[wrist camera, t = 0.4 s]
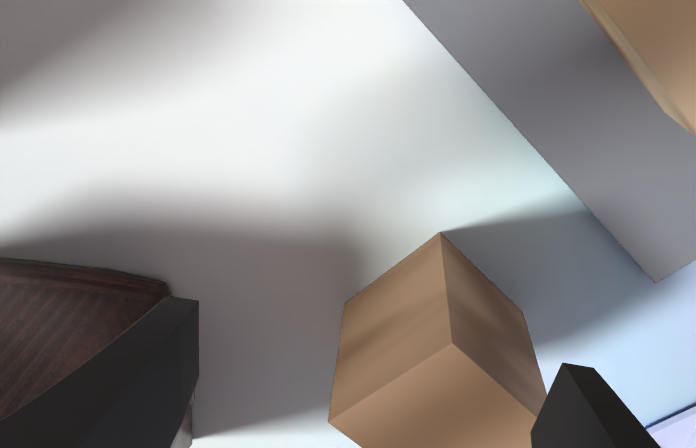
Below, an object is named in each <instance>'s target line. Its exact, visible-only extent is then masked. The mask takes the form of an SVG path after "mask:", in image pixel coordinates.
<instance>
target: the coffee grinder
mask: <svg viewBox="0 0 696 448" xmlns="http://www.w3.org/2000/svg"><path fill="white" fill-rule="evenodd" d="M167 296H170V293H169V290H168V287H167V285H166V283H165V282H160V281H156V280H152V279H148V278H143V277H139V276H135V275H130V274H126V273H122V272H118V271H113V270H109V269H101V268H92V267H83V266H74V265H65V264H56V263H47V262H37V261H28V260H18V259H9V258H0V420H2V419H3V418H5V417H7V416H8V415H10V414H11V413H13V412H14V411H16V410H17V409H19V408H20V407H22V406H24V405H25V404H27V403H28V402H30V401H31V400H33V399H34V398H36V397H37V396H38V395H40V394H41V393H43V392H44V391H45V390H47V389H48V388H50V387H51V386H53V385H54V384H55V383H57V382H58V381H60V380H61V379H62V378H64V377H65V376H67V375H68V374H70V373H71V372H72V371H74V370H75V369H76V368H78V367H79V366H80V365H82V364H83V363H84V362H86V361H87V360H88V359H90V358H91V357H92V356H93V355H95V354H96V353H97V352H99V351H100V350H101V349H102V348H104V347H105V346H106V345H108V344H109V343H110V342H112V341H113V340H114V339H115V338H117V337H118V336H119V335H120V334H121V333H123V332H124V331H125V330H126V329H128V328H129V327H130V326H131V325H133V324H134V323H135V322H136V321H137V320H139V319H140V318H141V317H142V316H143V315H145V314H146V313H147V312H148V311H149V310H151V309H152V308H153V307H154V306H155V305H157V304H158V303H159V302H160V301H161V300H163V299H164V298H166V297H167ZM194 398H195V388H194V391H193V393H192V396H191V399H190V402H189V405H188V408H187V410H186V413H185V416H184V419H183V421H182V424H181V426H180V428H179V430H178V432H177V435H176V437H175V439H174V441H173V443H172V445H171V447H170V448H189V447H190V446H191V444H192V418H191V404H193V401H194Z"/></svg>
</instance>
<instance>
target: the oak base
mask: <svg viewBox="0 0 696 448" xmlns="http://www.w3.org/2000/svg"><path fill="white" fill-rule="evenodd" d="M579 1H580V2H581V4H582V5H583V6H584V8H585V9H586V10H587V12H588V13H589V14H590V16H591V17H592V18H593V19H594V21H595V22H596V23H597V25H598V26H599V27H600V29H601V30H602V31H603V33H604V34H605V35H606V36H607V38H608V39H609V40H610V42H611V43H612V44H613V46H614V47H615V48H616V50H617V51H618V52H619V53H620V55H621V56H622V57H623V59H624V60H625V61H626V63H627V64H628V65H629V66H630V68H631V69H632V70H633V72H634V73H635V74H636V76H637V77H638V78H639V80H640V81H641V82H642V83H643V85H644V86H645V87H646V89H647V90H648V91H649V93H650V94H651V95H652V97H653V98H654V99H655V100H656V102H657V103H658V104H659V106H660V107H661V108H662V110H663V111H664V112H665V113H666V114H667V115H669V116H670V117H671V118H672V119H674V120H675V121H676V122H677V123H679V124H680V125H681V126H682V127H684V128H685V129H686V130H687V131H689V132H690V133H691V134H692V135H694V136H695V137H696V0H579Z"/></svg>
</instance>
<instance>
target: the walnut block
mask: <svg viewBox="0 0 696 448" xmlns="http://www.w3.org/2000/svg"><path fill="white" fill-rule="evenodd" d="M546 397H547V393H546V390H545V386H544V383H543V379H542V376H541V373H540V369H539V366H538V362H537V359H536V356H535V352H534V349H533V345H532V342H531V339H530V335H529V332H528V328H527V325H526V322H525V318H524V315H523V312H522V311H521V310H520V309H519V308H518V307H517V306H516V305H515V304H514V303H513V302H512V301H511V300H510V299H509V298H508V297H506V296H505V295H504V294H503V293H502V292H501V291H500V290H499V289H498V288H497V287H496V286H495V285H494V284H493V283H492V282H491V281H490V280H489V279H488V278H487V277H486V276H485V275H484V274H483V273H482V272H481V271H479V270H478V269H477V268H476V267H475V266H474V265H473V264H472V263H471V262H470V261H469V260H468V259H467V258H466V257H465V256H464V255H463V254H462V253H461V252H460V251H459V250H458V249H457V248H456V247H455V246H454V245H452V244H451V243H450V242H449V241H448V240H447V239H446V238H445V237H444V236H443V235H442V234H441V233H440V232H439V233H438V234H436V235H435V236H434V237H432V238H431V239H430V240H428V241H427V242H426V243H424V244H423V245H422V246H420V247H419V248H418V249H416V250H415V251H414V252H412V253H411V254H410V255H408V256H407V257H406V258H404V259H403V260H402V261H400V262H399V263H398V264H396V265H395V266H394V267H392V268H391V269H390V270H388V271H387V272H386V273H384V274H383V275H382V276H381V277H379V278H378V279H377V280H375V281H374V282H373V283H371V284H370V285H369V286H367V287H366V288H365V289H363V290H362V291H361V292H359V293H358V294H357V295H355V296H354V297H353V298H351V299H350V300H349V301H347V302H346V303H345V306H344V313H343V320H342V327H341V334H340V341H339V348H338V355H337V362H336V368H335V375H334V382H333V389H332V396H331V403H330V410H329V417H328V423H330V424H331V425H332V426H334V427H335V428H336V429H338V430H339V431H340V432H342V433H343V434H344V435H346V436H347V437H349V438H350V439H351V440H353V441H354V442H355V443H357V444H358V445H359V446H361V447H362V448H532V445H531V435H530V432H531V430H532V428H533V425H534V423H535V421H536V419H537V417H538V415H539V412H540V410H541V408H542V406H543V404H544V401H545V399H546Z"/></svg>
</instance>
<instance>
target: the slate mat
mask: <svg viewBox="0 0 696 448" xmlns="http://www.w3.org/2000/svg"><path fill="white" fill-rule="evenodd" d="M403 1H404V3H405V4H406V5H407V6H408V7H409V8H410V9H411V10H412V11H413V13H414V14H415V15H416V16H417V17H418V18H419V19H420V20H421V22H422V23H423V24H424V25H425V26H426V27H427V28H428V29H429V31H430V32H431V33H432V34H433V35H434V36H435V37H436V38H437V40H438V41H439V42H440V43H441V44H442V45H443V46H444V47H445V48H446V50H447V51H448V52H449V53H450V54H451V55H452V56H453V57H454V59H455V60H456V61H457V62H458V63H459V64H460V65H461V66H462V68H463V69H464V70H465V71H466V72H467V73H468V74H469V75H470V76H471V78H472V79H473V80H474V81H475V82H476V83H477V84H478V85H479V87H480V88H481V89H482V90H483V91H484V92H485V93H486V94H487V96H488V97H489V98H490V99H491V100H492V101H493V102H494V103H495V105H496V106H497V107H498V108H499V109H500V110H501V111H502V112H503V113H504V115H505V116H506V117H507V118H508V119H509V120H510V121H511V122H512V124H513V125H514V126H515V127H516V128H517V129H518V130H519V131H520V133H521V134H522V135H523V136H524V137H525V138H526V139H527V140H528V141H529V143H530V144H531V145H532V146H533V147H534V148H535V149H536V150H537V152H538V153H539V154H540V155H541V156H542V157H543V158H544V159H545V161H546V162H547V163H548V164H549V165H550V166H551V167H552V168H553V170H554V171H555V172H556V173H557V174H558V175H559V176H560V177H561V178H562V180H563V181H564V182H565V183H566V184H567V185H568V186H569V187H570V189H571V190H572V191H573V192H574V193H575V194H576V195H577V196H578V198H579V199H580V200H581V201H582V202H583V203H584V204H585V205H586V207H587V208H588V209H589V210H590V211H591V212H592V213H593V214H594V215H595V217H596V218H597V219H598V220H599V221H600V222H601V223H602V224H603V226H604V227H605V228H606V229H607V230H608V231H609V232H610V233H611V235H612V236H613V237H614V238H615V239H616V240H617V241H618V242H619V243H620V245H621V246H622V247H623V248H624V249H625V250H626V251H627V252H628V254H629V255H630V256H631V257H632V258H633V259H634V260H635V261H636V263H637V264H638V265H639V266H640V267H641V268H642V269H643V270H644V272H645V273H646V274H647V275H648V276H649V277H650V278H651V279H652V280H653V282H654V283H657V282H659V281H660V280H662V279H664V278H665V277H667V276H669V275H671V274H672V273H674V272H676V271H677V270H679V269H681V268H683V267H684V266H686V265H688V264H690V263H691V262H693V261H695V260H696V137H695V136H694V135H692V134H691V133H690V132H689V131H687V130H686V129H685V128H684V127H682V126H681V125H680V124H679V123H677V122H676V121H675V120H674V119H672V118H671V117H670V116H669V115H667V114H666V113H665V112H664V111H663V110H662V108H661V107H660V106H659V104H658V103H657V102H656V100H655V99H654V98H653V97H652V95H651V94H650V93H649V91H648V90H647V89H646V87H645V86H644V85H643V83H642V82H641V81H640V80H639V78H638V77H637V76H636V74H635V73H634V72H633V70H632V69H631V68H630V66H629V65H628V64H627V63H626V61H625V60H624V59H623V57H622V56H621V55H620V53H619V52H618V51H617V50H616V48H615V47H614V46H613V44H612V43H611V42H610V40H609V39H608V38H607V36H606V35H605V34H604V33H603V31H602V30H601V29H600V27H599V26H598V25H597V23H596V22H595V21H594V19H593V18H592V17H591V16H590V14H589V13H588V12H587V10H586V9H585V8H584V6H583V5H582V4H581V2H580V1H579V0H403Z"/></svg>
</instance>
